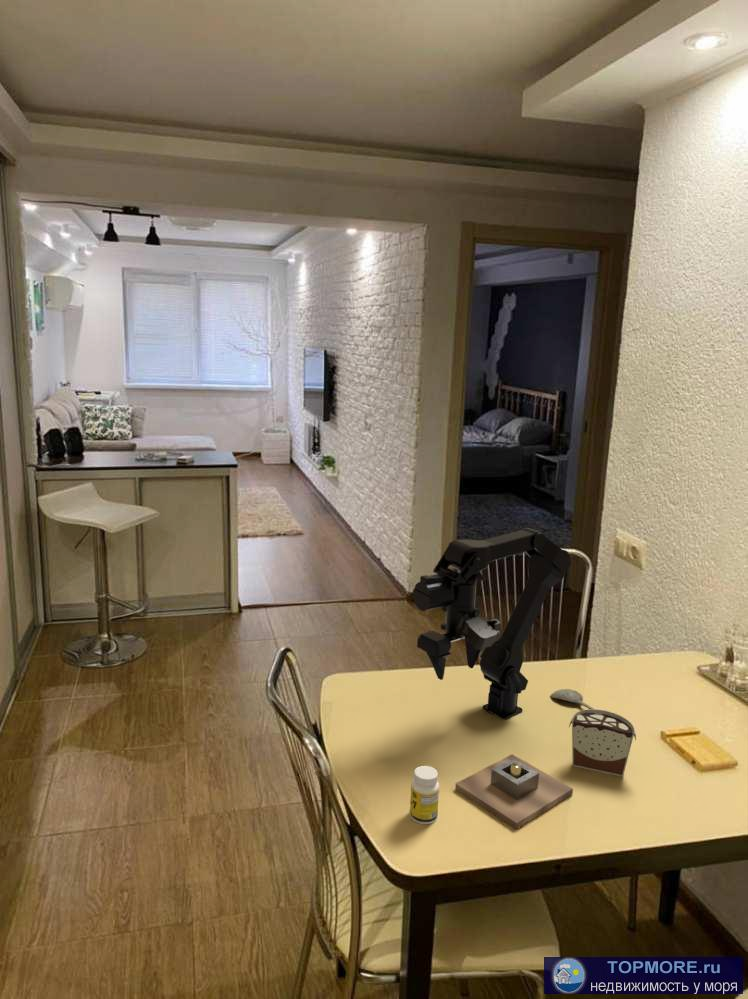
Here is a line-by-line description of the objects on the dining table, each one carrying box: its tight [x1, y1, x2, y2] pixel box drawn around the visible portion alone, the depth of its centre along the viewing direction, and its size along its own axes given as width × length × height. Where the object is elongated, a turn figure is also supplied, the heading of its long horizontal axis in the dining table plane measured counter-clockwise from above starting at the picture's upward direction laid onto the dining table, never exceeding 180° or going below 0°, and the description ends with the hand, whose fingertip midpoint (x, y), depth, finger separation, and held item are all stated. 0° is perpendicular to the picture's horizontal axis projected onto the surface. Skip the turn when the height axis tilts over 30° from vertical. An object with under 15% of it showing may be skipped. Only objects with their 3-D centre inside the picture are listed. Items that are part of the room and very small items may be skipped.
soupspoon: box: [549, 688, 595, 709], centre depth 162 cm, size 22×3×7 cm
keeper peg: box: [510, 763, 521, 779], centre depth 131 cm, size 3×3×4 cm
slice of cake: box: [568, 708, 637, 777], centre depth 141 cm, size 12×6×10 cm, turn 71°
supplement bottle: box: [409, 765, 440, 825], centre depth 123 cm, size 5×5×8 cm
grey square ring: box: [491, 758, 539, 800], centre depth 131 cm, size 6×6×3 cm
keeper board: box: [455, 753, 574, 830], centre depth 132 cm, size 16×14×1 cm
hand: (455, 673), depth 151 cm, fingers open, 9 cm apart
